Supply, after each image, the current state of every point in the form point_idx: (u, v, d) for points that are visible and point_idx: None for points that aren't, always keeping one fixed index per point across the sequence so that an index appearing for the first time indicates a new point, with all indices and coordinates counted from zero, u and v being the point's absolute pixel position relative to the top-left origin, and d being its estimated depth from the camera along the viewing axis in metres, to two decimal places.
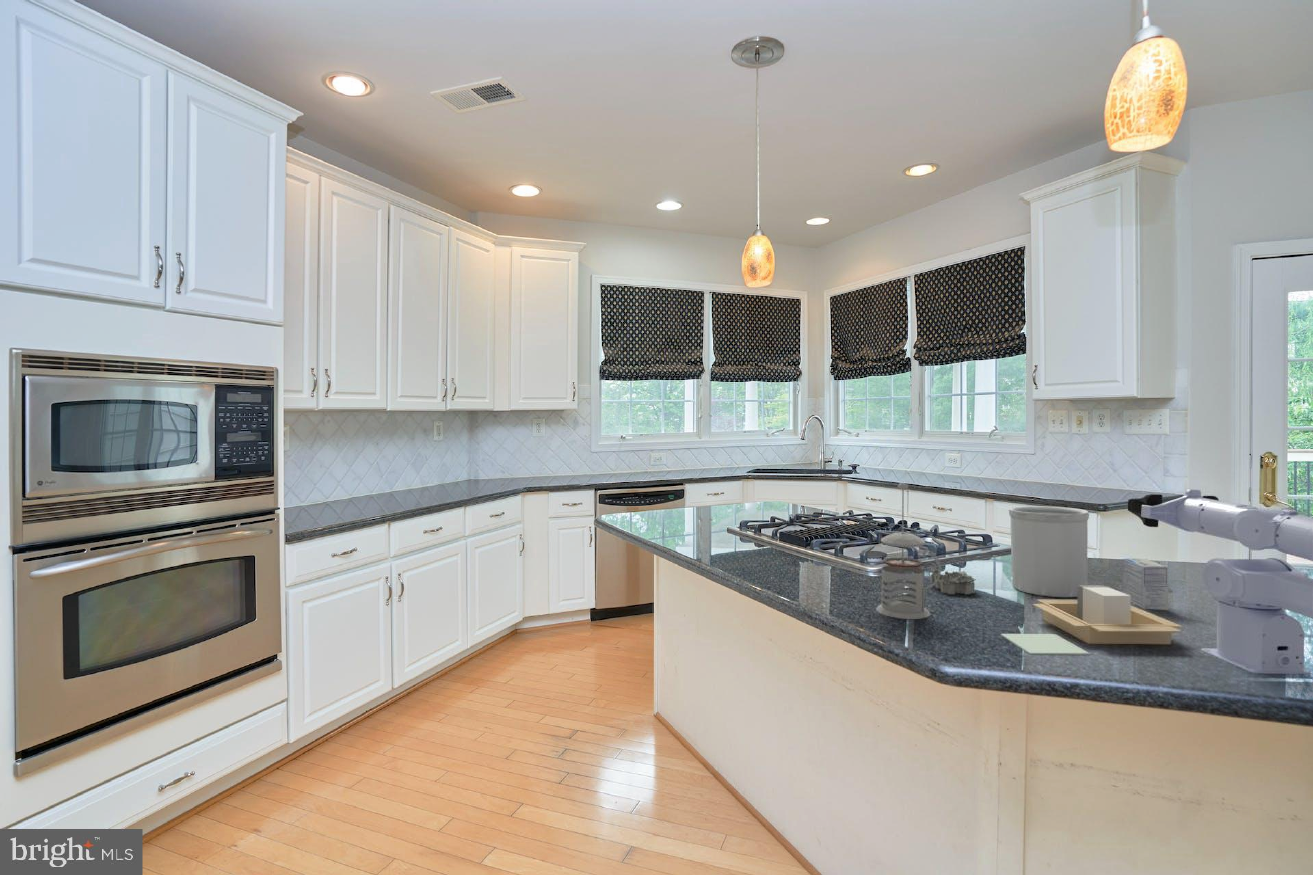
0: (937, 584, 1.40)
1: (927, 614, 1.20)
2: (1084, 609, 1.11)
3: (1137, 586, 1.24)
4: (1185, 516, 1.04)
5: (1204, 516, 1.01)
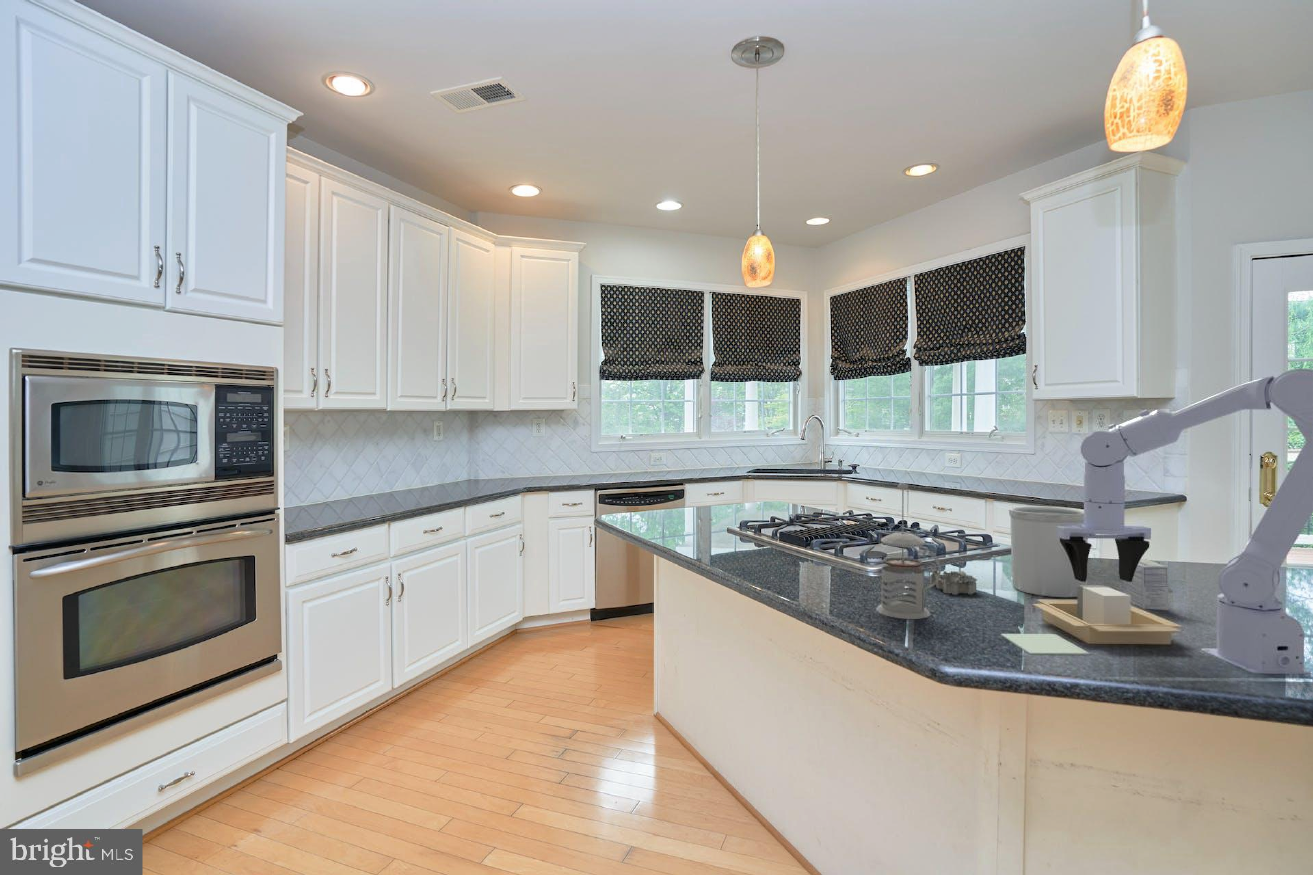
0: (939, 584, 1.40)
1: (927, 614, 1.20)
2: (1084, 609, 1.11)
3: (1137, 586, 1.24)
4: (1087, 516, 1.09)
5: (1096, 496, 1.08)
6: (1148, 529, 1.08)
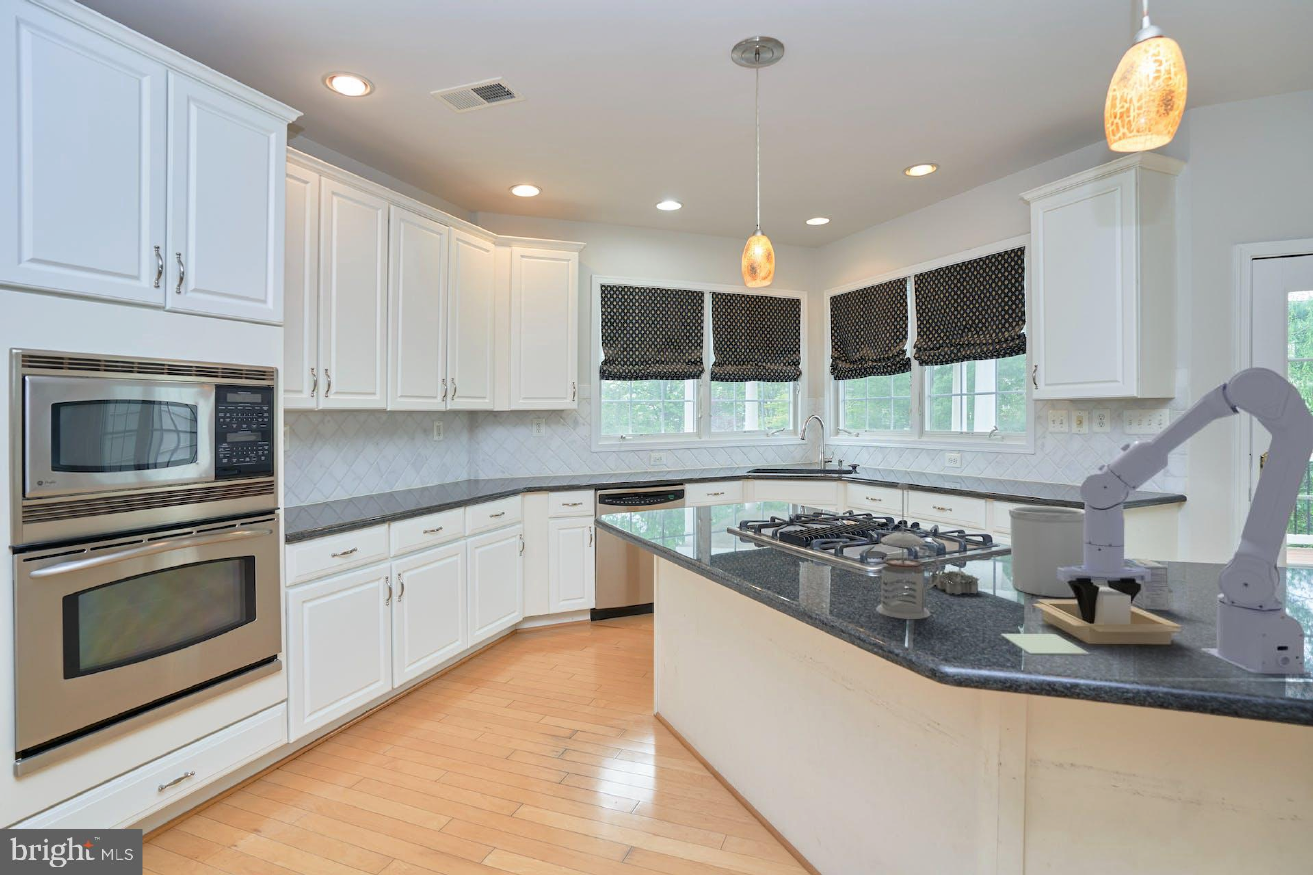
0: (940, 585, 1.39)
1: (927, 614, 1.20)
2: None
3: None
4: (1087, 558, 1.09)
5: (1096, 539, 1.08)
6: (1148, 571, 1.08)
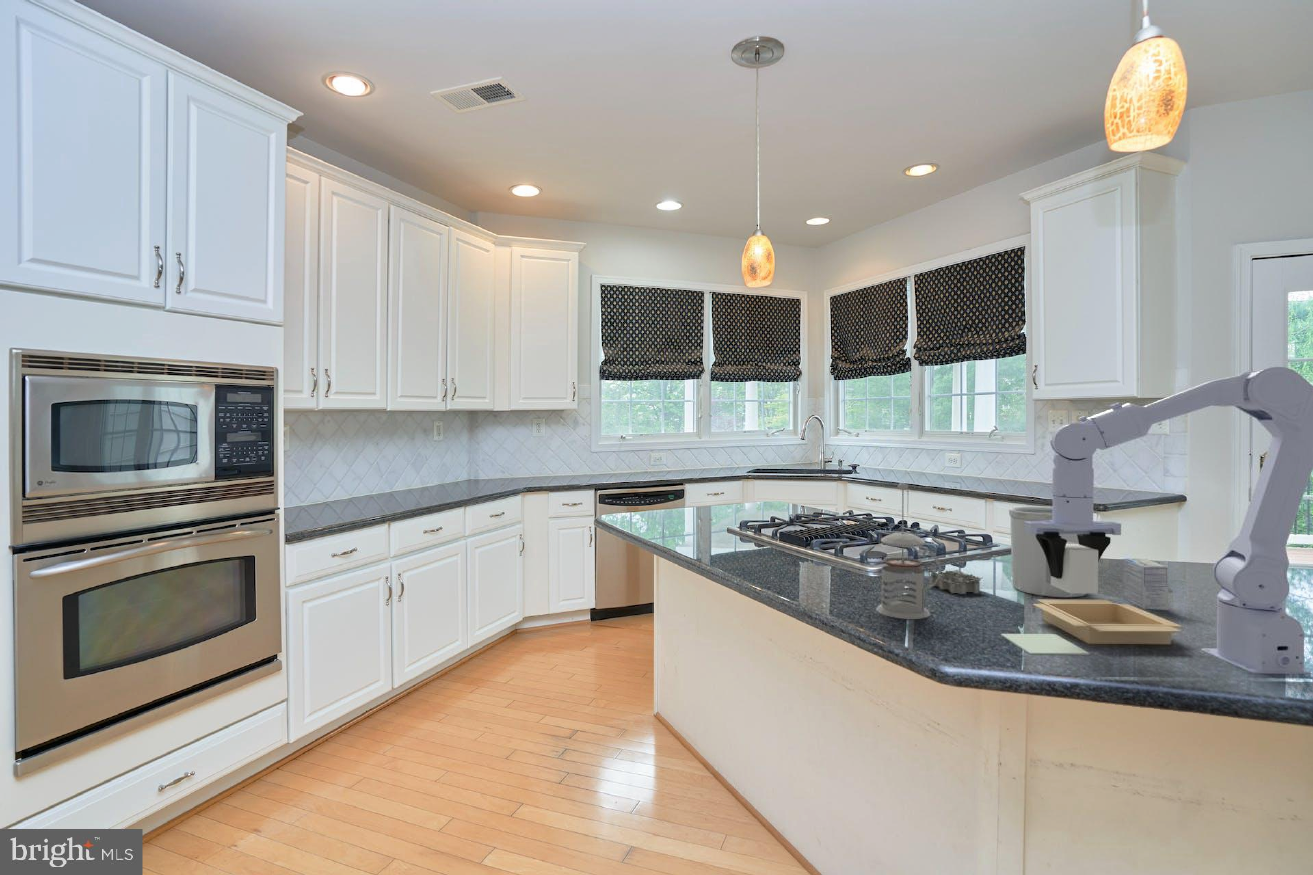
0: (943, 585, 1.39)
1: (927, 614, 1.20)
2: None
3: (1137, 586, 1.24)
4: (1055, 511, 1.06)
5: (1071, 491, 1.04)
6: (1118, 524, 1.05)
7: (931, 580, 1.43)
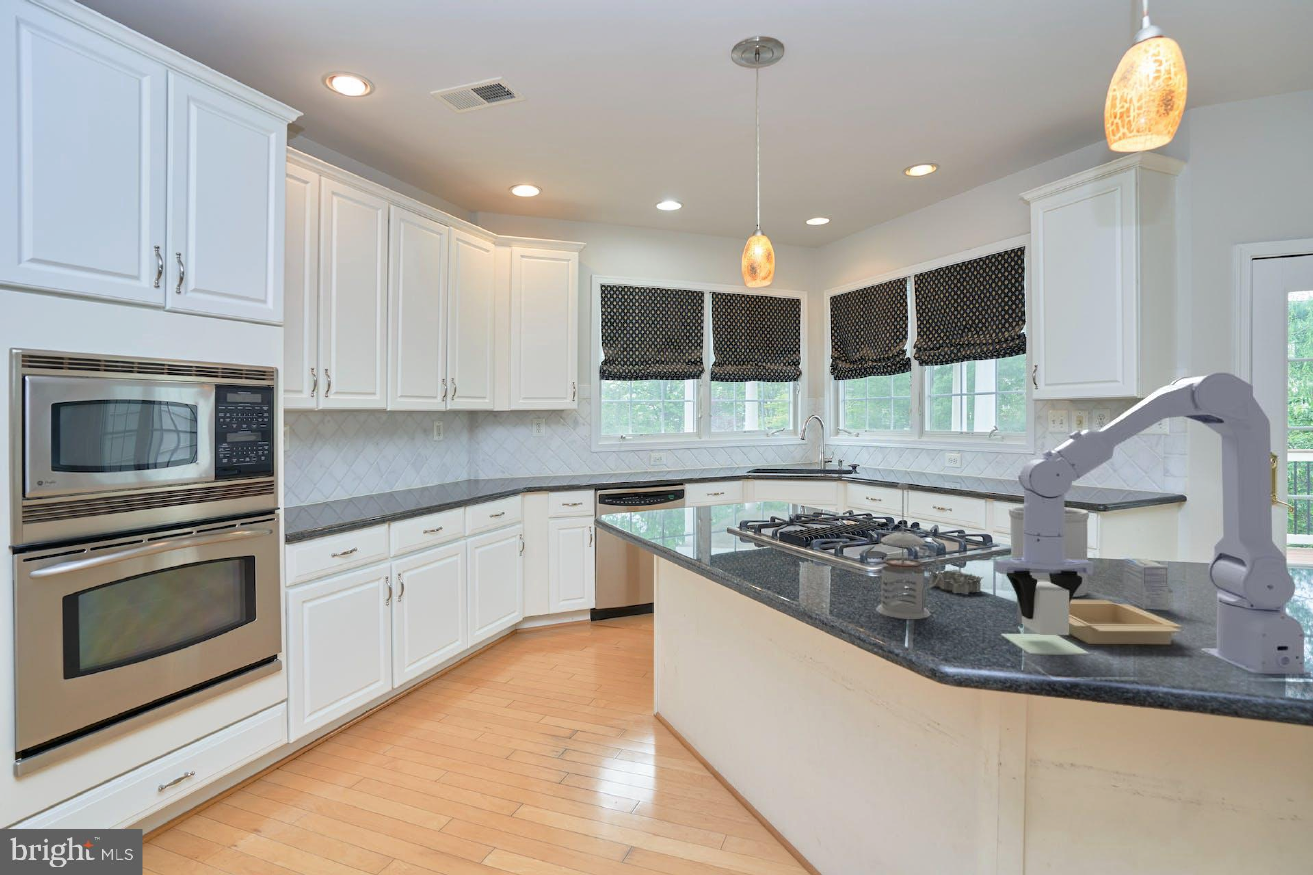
0: (944, 585, 1.39)
1: (927, 614, 1.20)
2: None
3: (1137, 586, 1.24)
4: (1026, 549, 1.03)
5: (1046, 530, 1.00)
6: (1090, 563, 1.02)
7: (931, 580, 1.42)
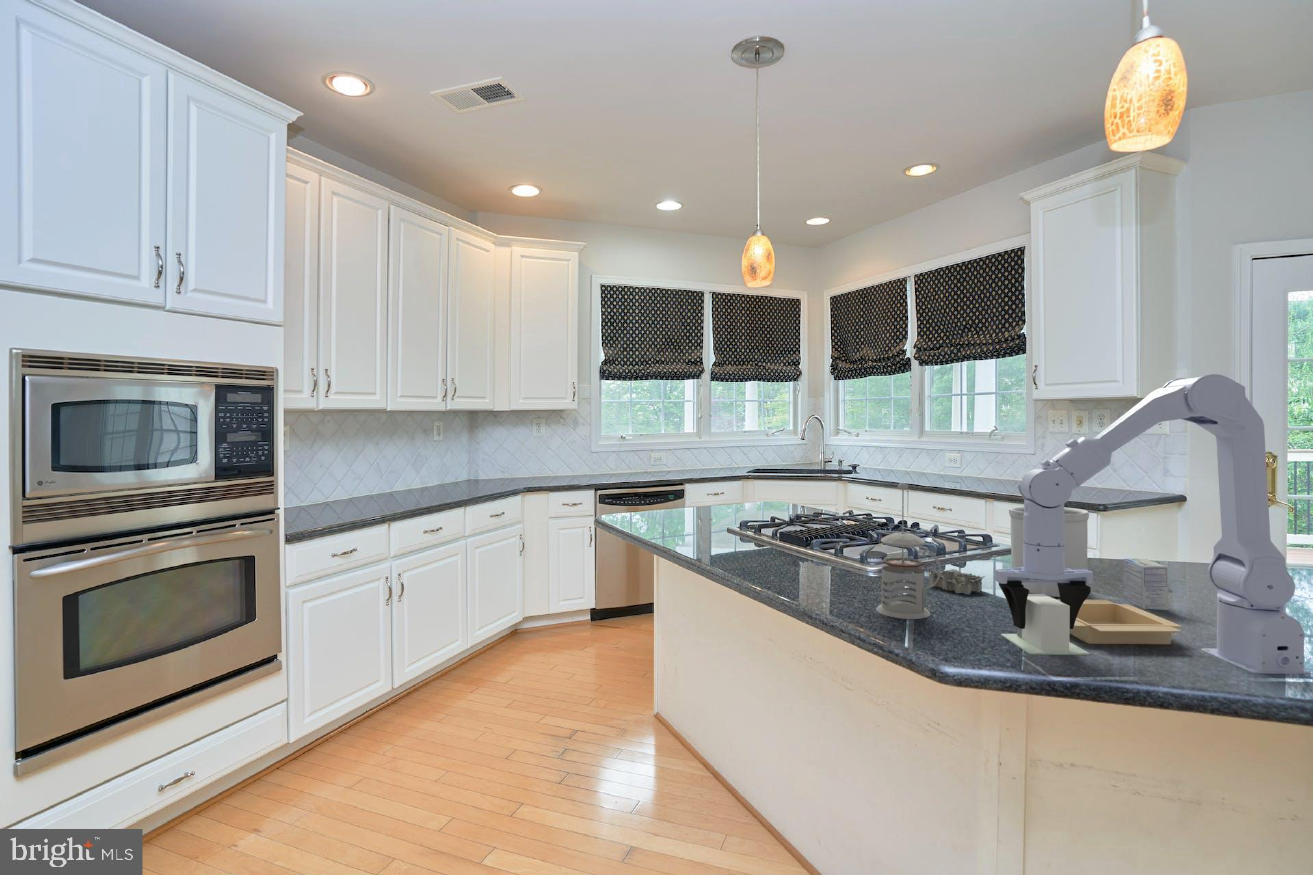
0: (946, 585, 1.39)
1: (927, 614, 1.20)
2: None
3: (1137, 586, 1.24)
4: (1026, 559, 1.03)
5: (1046, 540, 1.00)
6: (1090, 573, 1.02)
7: (932, 581, 1.42)
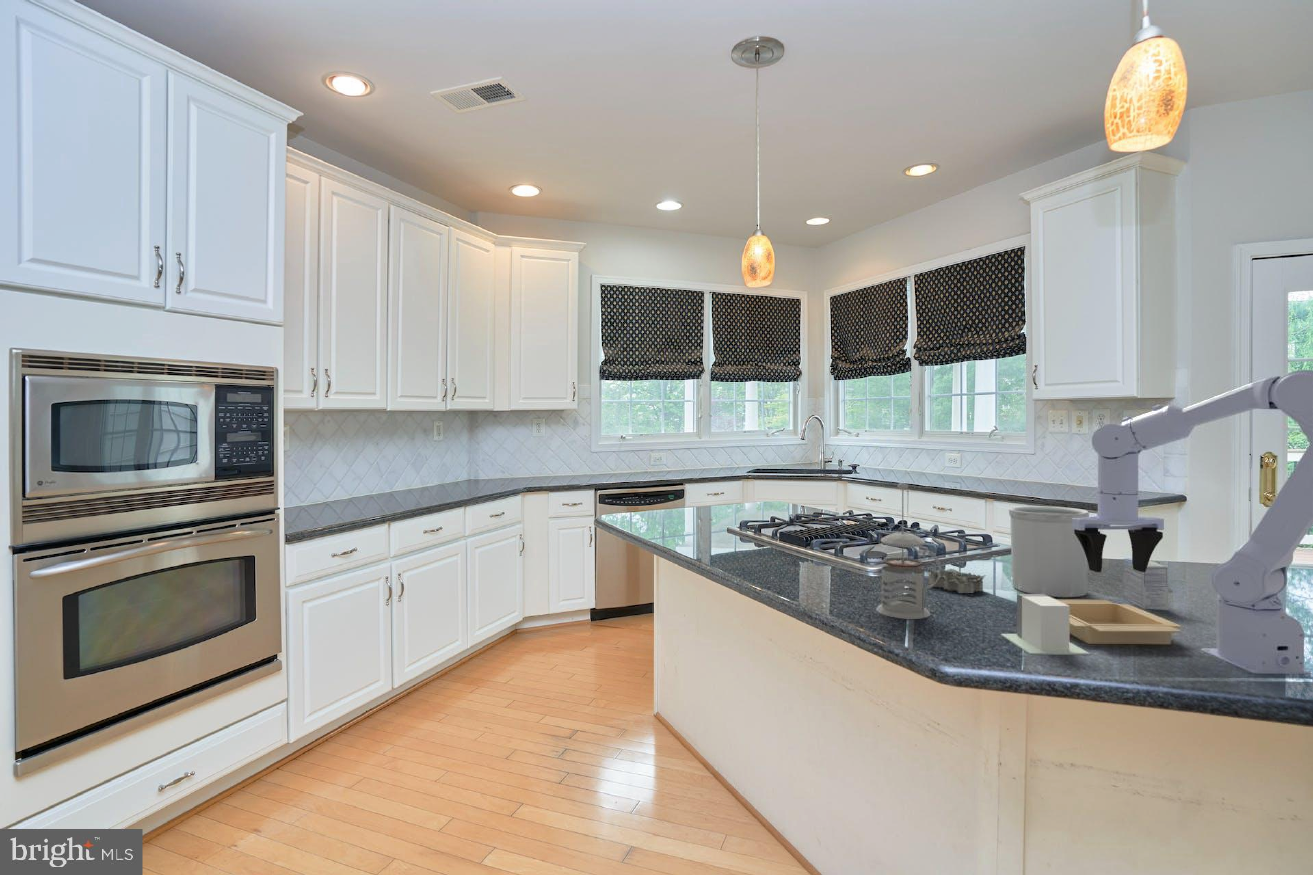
0: (948, 586, 1.39)
1: (927, 614, 1.20)
2: (1023, 619, 1.05)
3: (1137, 586, 1.24)
4: (1102, 508, 1.11)
5: (1106, 488, 1.10)
6: (1161, 520, 1.10)
7: (933, 581, 1.42)
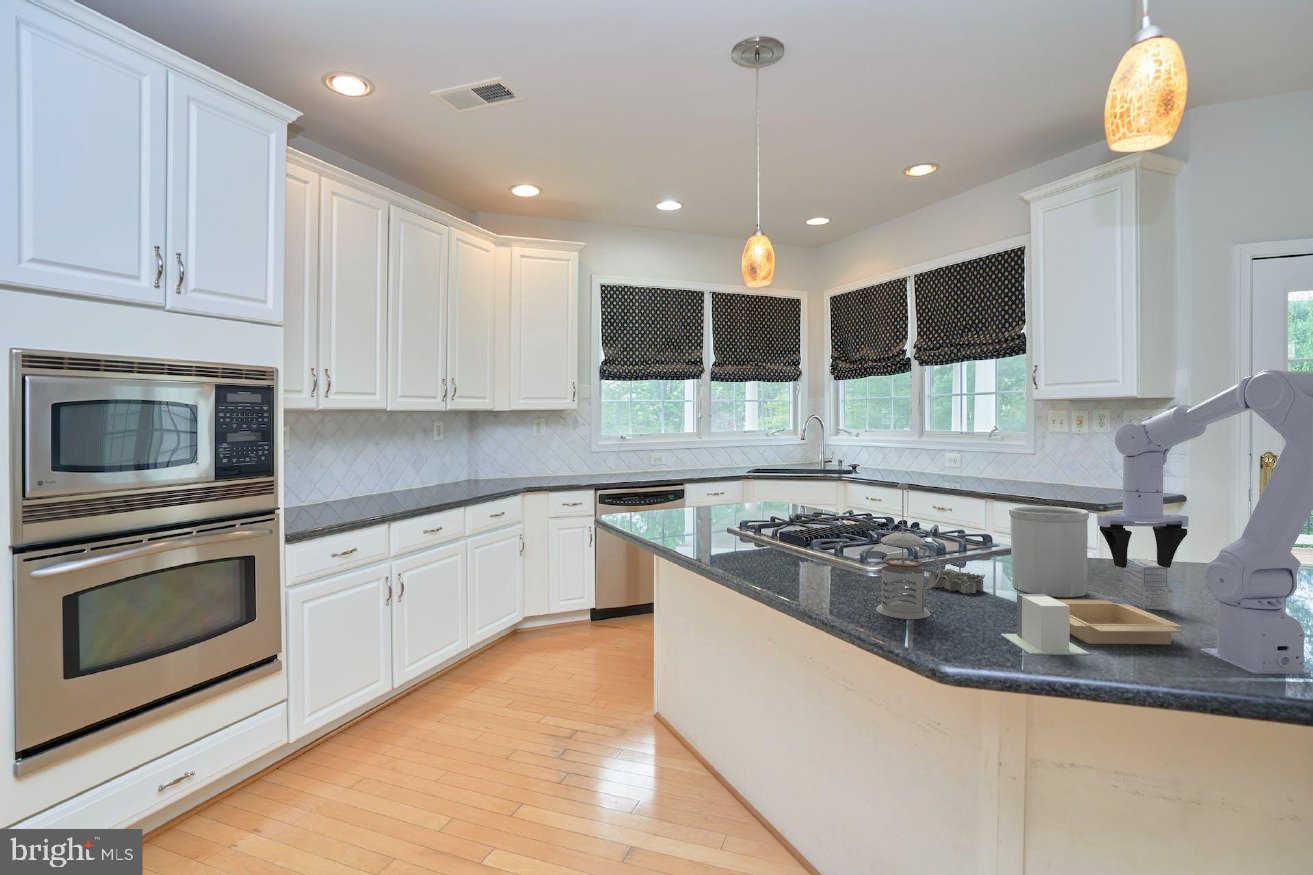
0: (950, 586, 1.38)
1: (927, 614, 1.20)
2: (1023, 619, 1.05)
3: (1137, 586, 1.24)
4: (1127, 505, 1.14)
5: (1126, 485, 1.14)
6: (1185, 517, 1.13)
7: (934, 581, 1.41)
